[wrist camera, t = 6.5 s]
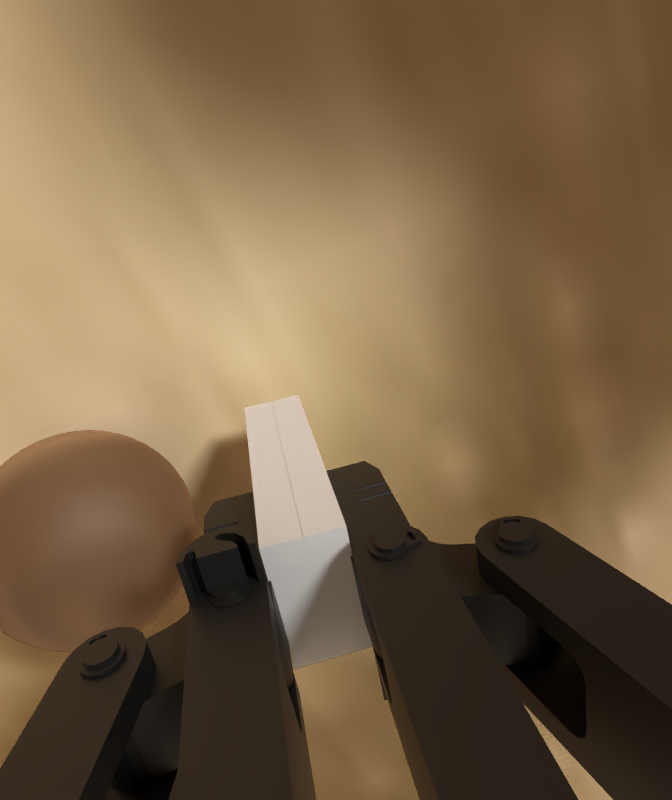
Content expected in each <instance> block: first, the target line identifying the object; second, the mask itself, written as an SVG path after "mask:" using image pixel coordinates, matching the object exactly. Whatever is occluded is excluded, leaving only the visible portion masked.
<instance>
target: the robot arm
mask: <svg viewBox="0 0 672 800" xmlns="http://www.w3.org/2000/svg"><path fill="white" fill-rule="evenodd" d="M244 409H245V419H246V428H247V438H248V447H249V457H250V467H251V476H252V486H253V492H251V493H247V494H243V495H239V496H235V497H231V498H228V499H224V500H220V501H216V502H214V503H213V505H212V506H211V508H210V509H209V511H208V512H207V514H206V515H205V520H204V535H203V536H201V537H199V538H198V539H196V540H195V541H193V542H191V543H190V544H188V545H187V547H186V548H185V549H184V550H183V551H182V552H181V553H180V554H179V556H178V559H177V561H176V567H177V570H178V572H179V575H180V578H181V581H182V584H183V586H184V589H185V592H186V595H187V597H188V600H189V603H190V606H189V612H188V613H187V614H186V615H185V616H183V617H182V618H181V619H180V620H179V621H177V622H176V623H174V624H172V625H171V626H169V627H168V628H166V629H164V630H162V631H160V632H158V633H156V634H154V635H152V636H151V637H149V638H147V639H145V637H144V635H143V632H141V631H139V630H137V629H136V628H134V627H116V628H113V629H109V630H105V631H103V632H101V633H99V634H97V635H95V636H93V637H91V638H89V639H87V640H86V641H85V642H83V643H82V644H81V645H80V646H78V647H77V648H76V649H75V650H74V651H73V652H72V653H71V654H70V656H69V657H68V658H67V659H66V661H65V662H64V663H63V665H62V666H61V668H60V670H59V671H58V673H57V675H56V676H55V678H54V680H53V681H52V683H51V685H50V686H49V688H48V690H47V691H46V693H45V695H44V697H43V698H42V700H41V702H40V703H39V705H38V707H37V708H36V710H35V712H34V713H33V715H32V717H31V718H30V720H29V722H28V723H27V725H26V727H25V728H24V730H23V732H22V733H21V735H20V737H19V738H18V740H17V742H16V743H15V745H14V747H13V748H12V750H11V752H10V753H9V755H8V757H7V758H6V760H5V762H4V764H3V765H2V767H1V769H0V800H316V796H315V790H314V783H313V777H312V771H311V764H310V758H309V751H308V745H307V739H306V732H305V726H304V720H303V713H302V707H301V701H300V694H299V690H298V687H297V684H296V680H295V677H294V673H293V668H294V669H298V668H301V667H304V666H308V665H311V664H315V663H318V662H321V661H325V660H328V659H331V658H335V657H338V656H342V655H345V654H348V653H352V652H355V651H358V650H362V649H365V648H369V647H372V645H373V649H374V653H375V658H376V663H377V667H378V672H379V677H380V681H381V686H382V690H383V695H384V700H387V699H388V702H389V705H390V709H391V712H392V715H393V718H394V721H395V724H396V727H397V730H398V734H399V737H400V740H401V743H402V746H403V749H404V752H405V755H406V759H407V762H408V765H409V768H410V771H411V774H412V777H413V780H414V784H415V787H416V790H417V793H418V796H419V799H420V800H578V798H577V796H576V795H575V793H574V791H573V790H572V788H571V786H570V784H569V783H568V781H567V779H566V777H565V776H564V774H563V772H562V771H561V769H560V767H559V765H558V764H557V762H556V760H555V758H554V757H553V755H552V753H551V752H550V750H549V748H548V746H547V745H546V743H545V741H544V739H543V738H542V736H541V734H540V733H539V731H538V729H537V727H536V726H535V724H534V722H533V720H532V719H531V717H530V715H529V713H528V712H527V710H526V708H525V707H524V705H525V706H526V707H527V708H528V709H529V710H530V711H531V712H532V713H533V714H534V715H535V716H536V717H537V718H538V719H539V721H540V722H541V723H542V724H543V725H544V726H545V727H546V728H547V729H548V730H549V731H550V732H551V733H552V734H553V736H554V737H555V738H556V739H557V740H558V741H559V742H560V743H561V744H562V745H563V746H564V747H565V748H566V749H567V750H568V752H569V753H570V754H571V755H572V756H573V757H574V758H575V759H576V760H577V761H578V762H579V763H580V764H581V765H582V767H583V768H584V769H585V770H586V771H587V772H588V773H589V774H590V775H591V776H592V777H593V778H594V779H595V780H596V781H597V783H598V784H599V785H600V786H601V787H602V788H603V789H604V790H605V791H606V792H607V793H608V794H609V795H610V796H611V798H612V799H613V800H672V605H671V604H670V603H668V602H667V601H665V600H664V599H662V598H660V597H659V596H657V595H656V594H654V593H653V592H651V591H650V590H648V589H646V588H645V587H643V586H642V585H640V584H639V583H637V582H636V581H634V580H632V579H631V578H629V577H628V576H626V575H625V574H623V573H622V572H620V571H618V570H617V569H615V568H614V567H612V566H611V565H609V564H608V563H606V562H604V561H603V560H601V559H600V558H598V557H597V556H595V555H594V554H592V553H590V552H589V551H587V550H586V549H584V548H583V547H581V546H580V545H578V544H576V543H575V542H573V541H572V540H570V539H569V538H567V537H566V536H564V535H562V534H561V533H559V532H558V531H556V530H555V529H553V528H552V527H550V526H548V525H547V524H545V523H543V522H540V521H538V520H536V519H533V518H527V517H521V516H512V517H502V518H499V519H495V520H492V521H490V522H488V523H487V524H485V525H484V526H482V527H481V528H480V529H479V531H478V533H477V534H476V536H475V541H476V544H458V545H449V544H439V543H434V542H431V541H428V539H427V537H426V536H425V535H424V534H423V533H422V532H421V531H420V530H419V529H416V528H414V527H411V526H410V524H409V522H408V521H407V519H406V517H405V515H404V513H403V512H402V510H401V508H400V506H399V504H398V503H397V501H396V499H395V497H394V495H393V494H392V493H391V490H390V488H389V486H388V485H387V483H386V482H385V479H384V477H383V476H382V474H381V472H380V470H379V469H378V468H376V467H374V466H373V465H371V464H369V463H367V462H365V461H363V462H359V463H355V464H351V465H348V466H344V467H340V468H336V469H332V470H328V471H326V469H325V466H324V464H323V461H322V458H321V456H320V453H319V450H318V447H317V445H316V442H315V439H314V437H313V434H312V431H311V428H310V426H309V423H308V420H307V418H306V415H305V412H304V409H303V407H302V404H301V401H300V398H299V396H298V395H295V396H291V397H287V398H283V399H279V400H275V401H271V402H267V403H263V404H259V405H254V406H250V407H246V408H244ZM371 642H372V643H371ZM292 664H293V667H292ZM522 702H523V703H524V705H523V703H522Z"/></svg>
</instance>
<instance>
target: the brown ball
mask: <svg viewBox="0 0 672 800" xmlns="http://www.w3.org/2000/svg"><path fill="white" fill-rule="evenodd" d="M196 533H197V526H196V516H195V511H194V507H193V502H192V499H191V496H190V494H189V491H188V489H187V487H186V485H185V483H184V481H183V480H182V478H181V477H180V475H179V473H178V472H177V471H176V470H175V469H174V467H173V466H172V465H171V464H170V463H169V462H168V461H167V460H166V459H165V458H164V457H163V456H162V455H161V454H159V453H158V452H157V451H155V450H154V449H152V448H150V447H149V446H147V445H146V444H144V443H142V442H140V441H138V440H135V439H133V438H131V437H127V436H124V435H121V434H116V433H111V432H105V431H92V430H87V431H74V432H68V433H62V434H59V435H55V436H52V437H48V438H46V439H43V440H41V441H38V442H36V443H34V444H32V445H30V446H28V447H26V448H24V449H23V450H21V451H19V452H18V453H17V454H15V455H14V456H12V457H11V458H10V459H8V460H7V461H6V462H5V463H4V464H3V465H2V466H1V467H0V630H1V631H3V632H4V633H6V634H7V635H9V636H10V637H12V638H14V639H16V640H18V641H20V642H22V643H24V644H27V645H30V646H33V647H36V648H40V649H45V650H50V651H58V652H73V651H74V650H75V649H76V648H77V647H78V646H80V645H81V644H82V643H83V642H85V641H86V640H87V639H89V638H91V637H93V636H95V635H97V634H99V633H101V632H103V631H105V630H109V629H113V628H116V627H134V628H136V629H137V630H141V629H142V628H143V627H145V626H146V625H148V624H149V623H150V622H151V621H153V620H154V619H155V618H156V617H157V616H158V615H159V614H160V613H161V612H162V611H163V610H164V609H165V608H166V607H167V606H168V605H169V604H170V602H171V601H172V600H173V599H174V597H175V595H176V594H177V592H178V591H179V589H180V588H181V586H182V581H181V578H180V575H179V572H178V570H177V567H176V561H177V559H178V556H179V554H180V553H181V552H182V551H183V550H184V549H185V548H186V547H187V545H188V544H190V543H191V542H193V541H195V540H196Z"/></svg>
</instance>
